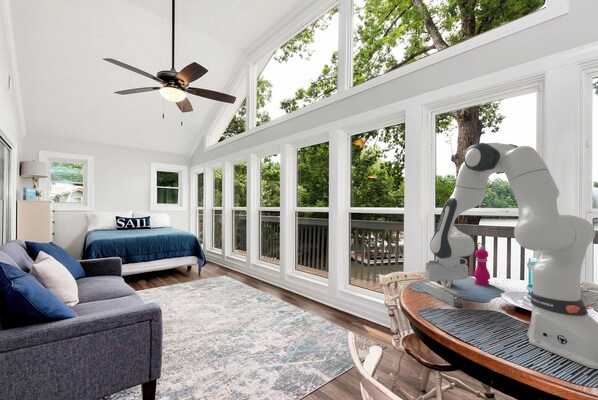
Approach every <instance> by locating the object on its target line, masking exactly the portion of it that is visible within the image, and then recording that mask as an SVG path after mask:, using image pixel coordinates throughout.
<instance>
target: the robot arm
mask: <svg viewBox="0 0 598 400" xmlns="http://www.w3.org/2000/svg"><path fill="white" fill-rule="evenodd" d="M492 174H496V175H497V174H498V175H499V174H505V176H506V179H507V181H508V183H509V185H510V189H511V191H512V193H513V195H514V197H515V201H516V204H517V208H518V209H517V210H518V221H517V223H516V225H515V227H514V229H513V235H514V239H515V241H516V242H517V244H519V246H521V247H522V248H523V249H525V250H529V251H533V252H538V253H540V255H539V257H538V259H537V261H536V262H535V263H534V264H533V266H532V269H531V276H532V278H531V279H532V280H531V282H532V289H531V292H530V303H531V304H532V305H531V306H532V309H531V317H530V323H529V327H528V330H527V332H526V335H527V338H528V343H529V344H530V345H534V346H536V347H538V348H540V349H543V350H545V351H547V352H550V353H552V354H555V355H558V356H560V357H562V358H565V359H567V360H570V361H572V362H575V363H578V364H580V365H582V366H585V367H587V368H591V369H596V370H598V322H597V321H596V320H595V319H594V318H593V317H592V316H591V315H589V311H588V310H592V308H593V307H592V305H591V304H586V305H585V303H584V300H583V299H582V298H581V275H582V267H583V264H584V260H585V257H586V253H587V250H588V248H589V246H590V244H591V243H592V242H593V241H594V239H595V237H596V229H595V227H594V226H593V224H592V223H591V222H589V220H587V219H585V218H582V217H578V216H576V215H575V216H574V215H572V214H560V213H559V209H558V198H559V195H560V190H559V188H558V186H557V183H556V182H555V180H554V177H553V175H552V174H551V172H550V170H549V168H548V166H547V164H546V162H545V161H544V160H543V158H542V156H540V154H539V153H538V151H536V149H535V148H534V147H531V146H530V145H529V146H528V145H521V146H518V145H516V144H513V143H512V144H511V143H509V144H506V143H501V142H486V143H485V142H479V143H475V144H472V145H470V146H468V148H467V149H466V150H465V152H464V155H463V162H462V163H461V165H460V168H459V170H458V173H457V177H456V180H455V187H454V189H453V192H452V194H451V196H450V197H449V198H448V199H447V200H446V201H445V203H444V205H443V207H442V210H441V213H440V216H439V220H438V222H437V226H436V229H435V232H434V234H433V236H432V238H431V240H430V244H429V248H430V251H431V253H432V254H433V255H435V259H433V260H431V259H430V260H428V261H427V262H426V263H425V271H424V278H425V280H427V281H428V282H429V281H433V282H437V281H441V283H442V285H443V286H444V287H446V288H449V289H451V284H452V282H453V283H454V281H457V280H467V279H468V278H469V266H468V260H467V259H466V258H464V257H468V256H472V255H473V254H475V251H476V242H475V240H474V238H473V237H472V236H471V235H470V234H467V233H464V232H462V231H460V230H458V228H457V227H456V226H455V225H454V224H455V223H456V222H455V221H456V219H457V218H458V217H459V216H460V215H461V214H463V213H465V212H466V211H469V210H472V209H475V208H476V207H478V206H480V204H482V202H484V201H483V200H484V199H485V197H486V193H487V192H486V191H487V186H488V185H487V184H488V180H489V178H490V176H491V175H492ZM446 280H447V281H448V282H447V285H446V284H445V283H446ZM591 307H592V308H591Z"/></svg>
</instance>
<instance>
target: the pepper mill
mask: <svg viewBox="0 0 598 400" xmlns="http://www.w3.org/2000/svg"><path fill="white" fill-rule="evenodd" d="M474 256H475V257H476V258H475V261H476V268H475V270H474V273H473V276H474V279H475V280H474V284H475V285H478V286H483V287H488V286H489V285H490V281H489V280H490V279H491V275H490V271H489V270H488V268H487V263H488V259H487V258H488V257H489V251H487V249H484V246H482V245H481V246H480V245H479V249H475V251H474Z"/></svg>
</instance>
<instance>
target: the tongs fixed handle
mask: <svg viewBox="0 0 598 400" xmlns="http://www.w3.org/2000/svg"><path fill="white" fill-rule="evenodd" d="M422 286H423V289H422V290H423V292H425V293H427V294H429V295H431V296H433V297H435V298H437V299H439V300H441V301H443V302H445V303H448V304H449V305H452V306H453V307H454V308H457V309H463V297H460V298H459V297H456V296H454V295H452V293H450V292H448V291H445V290H443V289H441V288H439V287H436V286H434V285H432V284H429V282H423V285H422Z"/></svg>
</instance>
